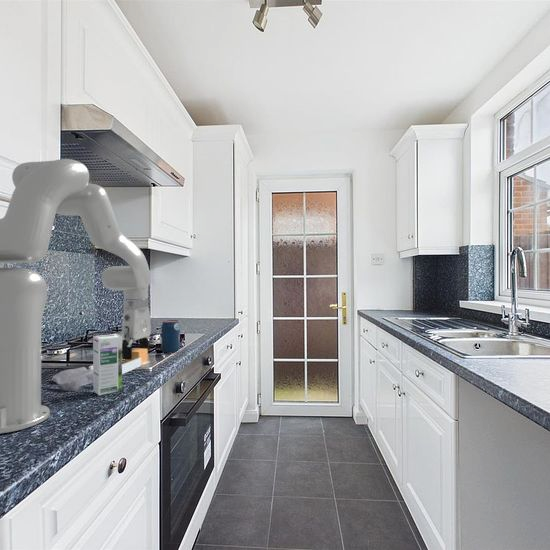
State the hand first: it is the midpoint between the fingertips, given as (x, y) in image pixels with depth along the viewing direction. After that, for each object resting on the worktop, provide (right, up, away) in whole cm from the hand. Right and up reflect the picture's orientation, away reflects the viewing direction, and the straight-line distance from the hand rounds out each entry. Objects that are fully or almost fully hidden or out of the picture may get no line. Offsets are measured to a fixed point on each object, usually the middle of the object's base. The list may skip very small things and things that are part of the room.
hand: (136, 355), depth 118 cm
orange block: (0, -2, 0) cm, 2 cm away
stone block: (-8, -4, -21) cm, 23 cm away
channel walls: (-2, -3, -10) cm, 11 cm away
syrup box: (+3, -4, -26) cm, 26 cm away
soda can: (+5, -3, +21) cm, 22 cm away
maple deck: (-2, -3, -8) cm, 8 cm away
